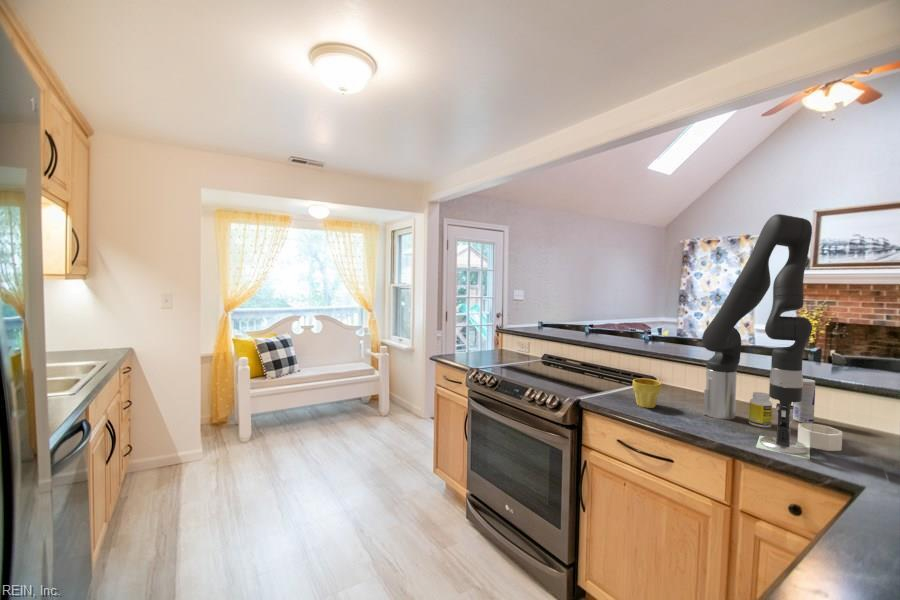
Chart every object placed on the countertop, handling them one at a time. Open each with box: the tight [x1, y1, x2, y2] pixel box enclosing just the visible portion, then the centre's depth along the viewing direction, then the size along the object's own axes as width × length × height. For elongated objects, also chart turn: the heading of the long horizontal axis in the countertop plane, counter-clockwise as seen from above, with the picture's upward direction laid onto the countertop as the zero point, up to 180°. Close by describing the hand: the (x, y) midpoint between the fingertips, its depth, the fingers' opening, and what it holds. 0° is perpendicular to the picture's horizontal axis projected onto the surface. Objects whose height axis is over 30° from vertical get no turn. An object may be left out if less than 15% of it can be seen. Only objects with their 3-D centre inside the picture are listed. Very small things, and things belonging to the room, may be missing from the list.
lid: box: [760, 424, 808, 455], centre depth 120 cm, size 11×11×6 cm
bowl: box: [796, 422, 843, 452], centre depth 122 cm, size 10×10×5 cm
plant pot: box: [632, 377, 662, 409], centre depth 161 cm, size 10×10×10 cm
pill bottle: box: [748, 391, 773, 428], centre depth 139 cm, size 6×6×11 cm
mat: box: [755, 435, 811, 460], centre depth 121 cm, size 12×12×1 cm
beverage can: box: [792, 377, 816, 423], centre depth 143 cm, size 6×6×15 cm
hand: (783, 438), depth 120 cm, fingers open, 5 cm apart
